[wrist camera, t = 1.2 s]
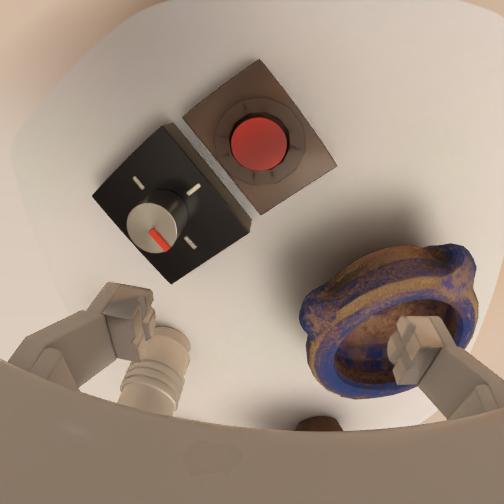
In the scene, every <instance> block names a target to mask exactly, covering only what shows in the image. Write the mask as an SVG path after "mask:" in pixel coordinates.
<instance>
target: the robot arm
mask: <svg viewBox="0 0 504 504" xmlns="http://www.w3.org/2000/svg"><path fill="white" fill-rule="evenodd" d="M153 300H154V299H153V292H152V291H151V289H147V288H141V287H136V286H130V285H125V284H119V283H114V282H108V283H106V284H105V286H104V287H103V288H102V290H101V291H100V292H99V294H98V295H97V297H96V298H95V299H94V301H93V302H92V303H91V305H90V306H89V307H88V309H87V310H86V311H84V310H81V311H79V312H77V313H75V314H73V315H71V316H69V317H67V318H65V319H63V320H60V321H58V322H56V323H54V324H52V325H50V326H48V327H46V328H44V329H42V330H39V331H37V332H36V333H33V334H31V335H29V336H27V337H26V338H25V339H24V340H23V342H22V343H21V344H20V346H19V347H18V348H17V350H16V351H15V352H14V354H13V355H12V356H11V358H10V359H9V361H8V362H6V361H4V360H2V359H0V504H504V380H503V379H502V378H500V377H499V376H498V375H497V374H495V373H494V372H493V371H491V370H490V369H489V368H488V367H486V366H484V365H483V364H482V363H481V362H480V361H478V360H477V359H475V358H474V357H473V356H472V355H470V354H469V353H468V352H467V351H465V350H464V349H463V348H461V347H457V346H456V344H455V342H454V340H453V339H452V337H451V335H450V333H449V331H448V330H447V328H446V326H445V324H444V323H443V321H442V319H441V318H440V317H438V316H404V315H402V316H401V317H400V318H399V320H398V322H397V324H396V326H397V329H398V330H396V331H395V332H394V333H393V334H391V336H390V339H389V341H388V346H387V354H388V358H389V361H390V362H391V363H393V364H394V365H395V366H394V368H393V373H394V376H395V380H396V383H397V385H417V384H418V385H417V386H418V387H419V388H420V389H421V390H422V391H423V392H424V393H425V395H426V396H427V397H428V398H429V399H430V400H431V401H432V402H433V404H434V405H435V406H436V407H437V408H438V409H439V410H440V411H441V413H442V414H443V415H444V416H445V417H446V418H447V421H442V422H435V423H429V424H422V425H415V426H407V427H398V428H388V429H376V430H360V431H325V432H321V431H284V430H268V429H256V428H246V427H236V426H228V425H220V424H213V423H207V422H200V421H194V420H188V419H183V418H178V417H173V416H168V415H163V414H158V413H154V412H149V411H145V410H141V409H137V408H133V407H129V406H126V405H122V404H118V403H115V402H111V401H108V400H104V399H101V398H98V397H95V396H91V395H88V394H85V393H82V392H80V390H79V387H80V386H81V385H82V384H84V383H85V382H87V381H88V380H89V379H91V378H92V377H93V376H95V375H96V374H97V373H98V372H100V371H101V370H103V369H104V368H105V367H107V366H108V365H109V364H111V363H112V362H113V361H115V360H116V358H120V359H125V360H130V361H135V362H140V363H141V360H142V358H143V356H144V353H145V351H146V349H147V346H146V341H147V340H149V339H151V337H152V335H153V332H154V328H155V322H156V315H155V310H154V309H153V308H152V307H151V304H152V302H153Z"/></svg>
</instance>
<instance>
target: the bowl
mask: <svg viewBox="0 0 504 504" xmlns="http://www.w3.org/2000/svg"><path fill="white" fill-rule="evenodd" d="M475 272H476V265H475V262H474V259H473V257H472V256H471V254H470V252H469V251H468V250H467V249H466V248H465V247H464V246H460V245H456V244H444V245H438V246H427V247H424V248H420V247H417V246H396V247H388V248H385V249H382V250H378V251H375V252H372V253H370V254H368V255H366V256H364V257H361V258H359V259H357V260H356V261H354V262H353V263H352V264H350V265H349V266H348V267H346V268H345V269H343V270H342V271H341V272H340V273H339V274H337V275H336V276H335V277H334V278H333V279H332V280H330V281H329V282H327V283H325V284H324V285H322V286H320V287H318V288H316V289H314V290H312V291H311V292H310V293H309V294H308V295H307V296H306V298H305V299H304V301H303V304H302V307H301V310H300V314H299V320H300V324H301V326H302V328H303V329H304V330H305V331H306V333H307V334H308V337H307V342H306V351H307V361H308V365H309V367H310V369H311V371H312V373H313V375H314V377H315V378H316V380H317V381H318V382H319V383H320V384H321V385H322V386H323V387H324V388H325V389H326V390H328V391H330V392H333V393H335V394H338V395H340V396H341V397H345V398H351V399H369V398H377V397H384V396H390V395H395V394H398V393H401V392H404V391H407V390H410V389H412V388H415V387H417V385H418V384H417V385H397V383H396V380H395V376H394V373H393V368H394V366H395V365H394V364H393V363H391V362H390V361H389V358H388V354H387V346H388V341H389V339H390V336H391V334H393V333H394V332H395V331H396V330H398V329H397V326H396V324H397V322H398V320H399V318H400V317H401V316H402V315H404V316H438V317H440V318H441V319H442V321H443V323H444V324H445V326H446V328H447V330H448V331H449V333H450V335H451V337H452V339H453V340H454V342H455V344H456V346H457V347H461V348H463V349H464V350H465V348H466V346H467V345H468V343H469V342H470V340H471V338H472V337H473V334H474V330H475V327H476V324H477V320H478V300H477V298H476V295H475V292H474V290H473V283H474V277H475Z"/></svg>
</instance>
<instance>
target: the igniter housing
mask: <svg viewBox="0 0 504 504" xmlns="http://www.w3.org/2000/svg"><path fill="white" fill-rule="evenodd" d="M256 116H263V117H268V118H270V119H272V120H274V121H276V122H277V123H278V124H279V125H280V126H281V128H282V129H283V131H284V134H285V137H286V141H287V148H286V153H285V155H284V157H283V159H282V160H281V161H280V162H279V163H278V164H277V165H276V166H275V167H273V168H271V169H268V170H265V171H254V170H250V169H247V168H245V167H244V166H242V165H241V164H240V163H239V162H238V161H237V160H236V159H235V157H234V155H233V152H232V149H231V139H232V135H233V133H234V131H235V130H236V128H237V127H238V126H239V125H240V124H241V123H242V122H244V121H245V120H247V119H249V118H251V117H256ZM182 118H183V119H184V120H185V121H186V123H187V124H188V125H189V126H190V128H191V129H192V130H193V131H194V132H195V134H196V135H197V136H198V137H199V139H200V140H201V141H202V142H203V143H204V145H205V146H206V147H207V148H208V150H209V151H210V152H211V153H212V155H213V156H214V157H215V158H216V160H217V161H218V162H219V163H220V164H221V166H222V167H223V168H224V169H225V171H226V172H227V173H228V175H229V176H230V177H231V178H232V180H233V181H234V182H235V183H236V185H237V186H238V187H239V188H240V190H241V191H242V192H243V193H244V195H245V196H246V197H247V199H248V200H249V201H250V202H251V204H252V205H253V206H254V207H255V209H256V210H257V211H258V213H259V214H260V215H262V214H264V213H265V212H267V211H268V210H270V209H271V208H273V207H274V206H276V205H278V204H279V203H281V202H282V201H284V200H285V199H287V198H288V197H290V196H291V195H293V194H294V193H296V192H298V191H299V190H301V189H302V188H304V187H305V186H307V185H308V184H310V183H311V182H313V181H315V180H316V179H318V178H319V177H321V176H322V175H324V174H326V173H327V172H329V171H330V170H332V169H333V168H335V167H337V164H336V163H335V161H334V160H333V158H332V157H331V155H330V154H329V152H328V151H327V149H326V148H325V146H324V145H323V143H322V142H321V140H320V139H319V137H318V136H317V134H316V133H315V131H314V130H313V128H312V127H311V126H310V124H309V123H308V121H307V120H306V119H305V117H304V116H303V114H302V113H301V112H300V110H299V109H298V107H297V106H296V105H295V103H294V102H293V101H292V99H291V98H290V97H289V95H288V94H287V93H286V91H285V90H284V89H283V87H282V86H281V85H280V84H279V82H278V81H277V80H276V79H275V77H274V76H273V75H272V73H271V72H270V71H269V70H268V68H267V67H266V66H265V65H264V64H263V62H262V61H261V60H260V59H259V60H257V61H256V62H254V63H253V64H251V65H250V66H249V67H247V68H246V69H244V70H243V71H241V72H240V73H239V74H237V75H236V76H234V77H233V78H232V79H230V80H229V81H227V82H226V83H225V84H223V85H222V86H221V87H219V88H218V89H217V90H215V91H214V92H213V93H212V94H210V95H209V96H208V97H206V98H205V99H204V100H203V101H201V102H200V103H199V104H198V105H196V106H195V107H194V108H193V109H191V110H190V111H189V112H188V113H187V114H185V115H184V116H183V117H182Z"/></svg>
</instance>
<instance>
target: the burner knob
mask: <svg viewBox="0 0 504 504" xmlns="http://www.w3.org/2000/svg"><path fill="white" fill-rule="evenodd" d="M187 220H188V210H187V207H186V204H185V203H184V201H183V200H182V198H181V197H180V196H179V195H177V194H176V193H174V192H172V191H169V190H163V189H162V190H156V191H153V192H152V193H150V194H149V195H148V196H146V197H145V198H144V199H143V200H142V201H141V202H140V203H139V204H138V205H136V206H135V207H134V208H133V209H132V210H131V212H130V213H129V215H128V218H127V230H128V234H129V236H130V238H131V239H132V241H133V242H134V243H135V244H136V245H137V246H138V247H139V248H141V249H142V250H144V251H147V252H150V253H161V252H164V251H165V252H166V251H167V250H169V249H170V248H171V247H172V246H173V244H174V243H175V241H176V239H177V238H178V236H179V235H180V233H181V231H182V230H183V228H184V227H185V225H186V223H187Z"/></svg>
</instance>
